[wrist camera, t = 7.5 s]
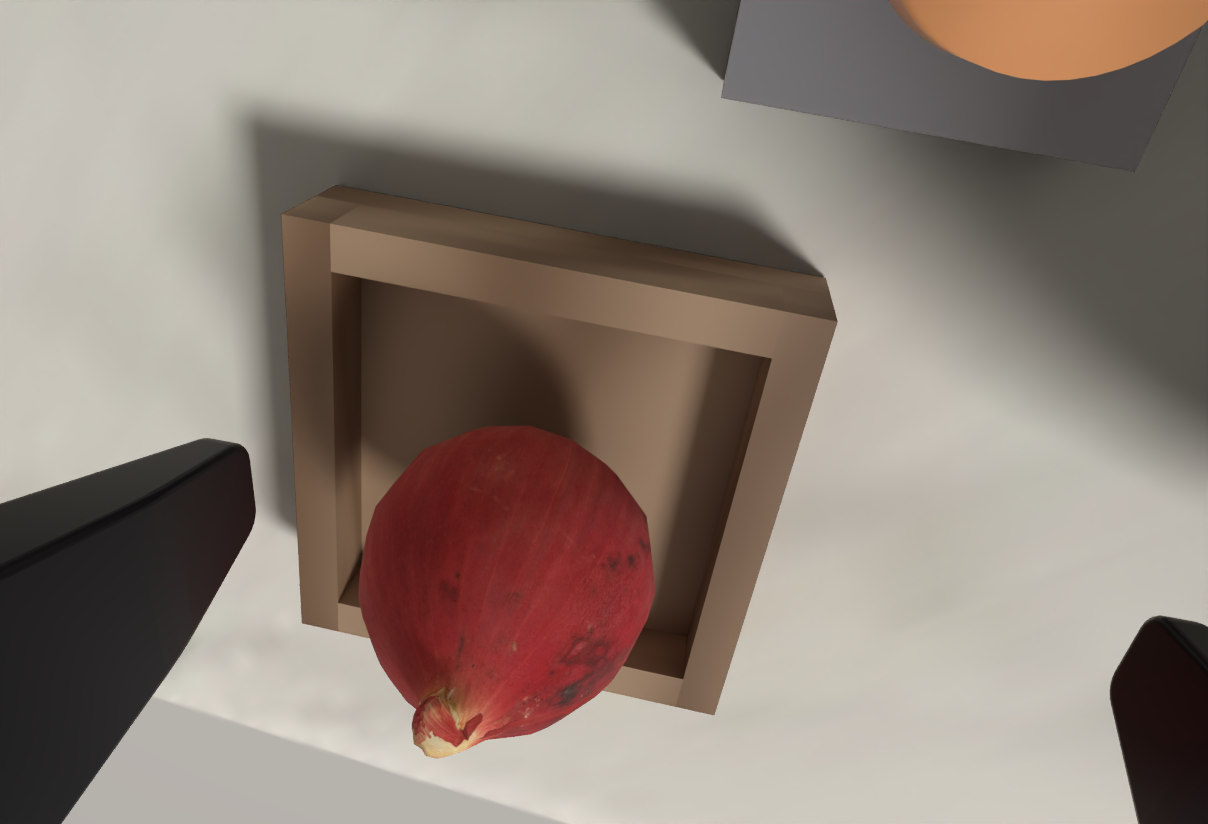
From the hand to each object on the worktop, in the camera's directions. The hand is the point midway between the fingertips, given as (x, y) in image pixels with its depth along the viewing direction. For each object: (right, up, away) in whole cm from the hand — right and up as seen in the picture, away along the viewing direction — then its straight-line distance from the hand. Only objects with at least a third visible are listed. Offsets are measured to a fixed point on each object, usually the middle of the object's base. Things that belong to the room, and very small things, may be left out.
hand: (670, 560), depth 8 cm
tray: (-2, +1, +12) cm, 13 cm away
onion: (-2, 0, +12) cm, 12 cm away
